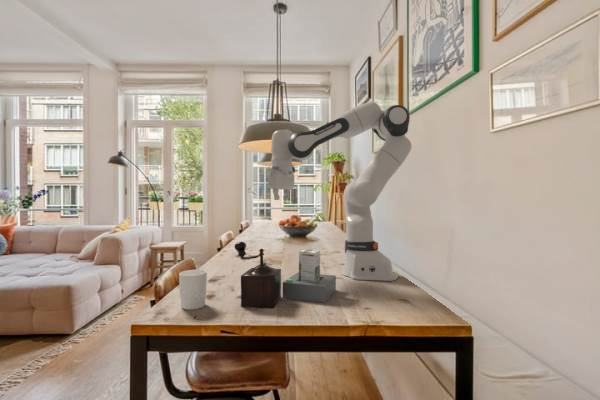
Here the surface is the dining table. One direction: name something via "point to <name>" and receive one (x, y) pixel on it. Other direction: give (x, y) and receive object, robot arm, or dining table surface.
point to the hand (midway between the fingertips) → (281, 199)
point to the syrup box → (309, 265)
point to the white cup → (192, 288)
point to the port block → (309, 288)
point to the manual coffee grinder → (259, 282)
